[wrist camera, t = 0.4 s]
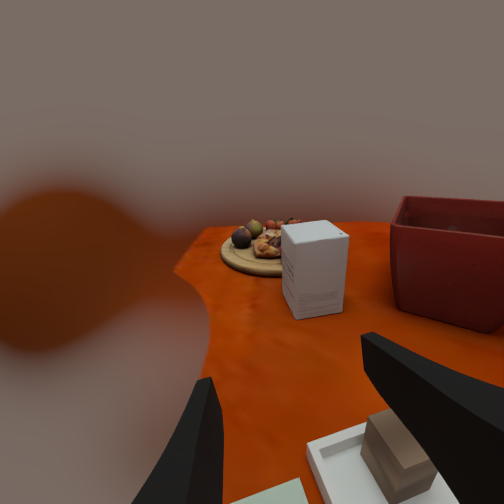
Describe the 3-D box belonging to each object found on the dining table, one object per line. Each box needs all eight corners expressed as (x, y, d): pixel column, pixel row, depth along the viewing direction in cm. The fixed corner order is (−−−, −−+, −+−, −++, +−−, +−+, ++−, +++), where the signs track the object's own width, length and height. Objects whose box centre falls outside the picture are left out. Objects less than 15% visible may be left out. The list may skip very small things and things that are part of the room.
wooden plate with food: (350, 278, 55) (355, 243, 52) (210, 280, 57) (205, 248, 54) (321, 230, 84) (323, 207, 81) (229, 234, 86) (227, 211, 83)
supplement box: (322, 286, 52) (327, 218, 46) (343, 313, 44) (351, 235, 38) (281, 292, 51) (279, 223, 45) (294, 321, 43) (294, 242, 37)
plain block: (429, 489, 22) (447, 451, 19) (390, 507, 21) (404, 469, 18) (394, 440, 25) (405, 402, 23) (360, 454, 24) (367, 416, 22)
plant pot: (529, 361, 33) (594, 246, 26) (373, 315, 43) (389, 223, 36) (501, 289, 47) (539, 202, 40) (389, 267, 57) (403, 195, 50)
